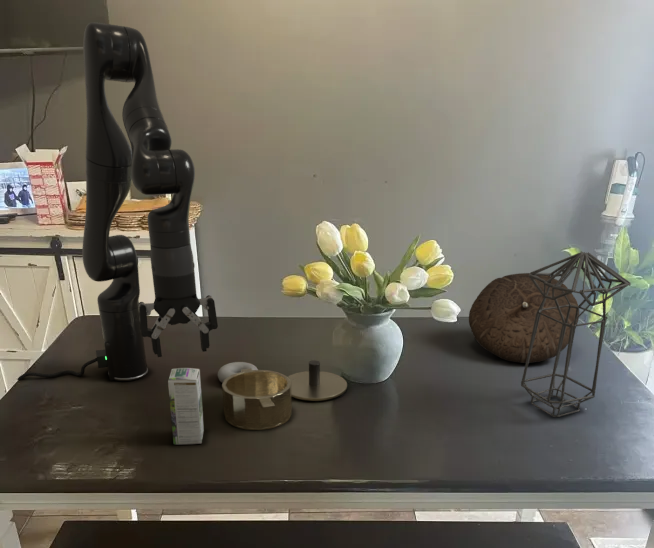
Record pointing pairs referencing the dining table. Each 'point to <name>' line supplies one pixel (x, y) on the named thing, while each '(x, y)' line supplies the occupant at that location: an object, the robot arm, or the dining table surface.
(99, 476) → the dining table surface
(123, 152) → the robot arm
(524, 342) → the brown fungus
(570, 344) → the geometric lantern
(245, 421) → the pot
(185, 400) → the syrup box
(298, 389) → the lid
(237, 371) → the donut
